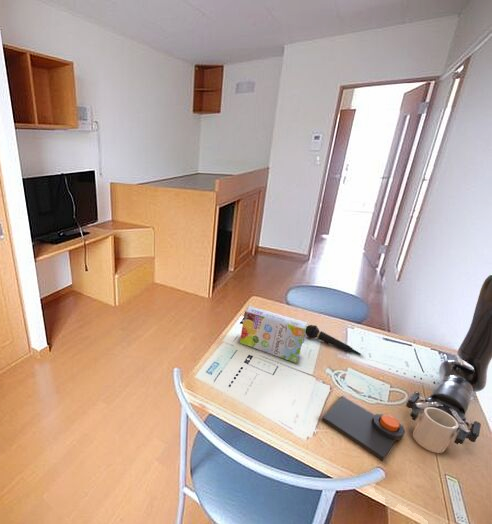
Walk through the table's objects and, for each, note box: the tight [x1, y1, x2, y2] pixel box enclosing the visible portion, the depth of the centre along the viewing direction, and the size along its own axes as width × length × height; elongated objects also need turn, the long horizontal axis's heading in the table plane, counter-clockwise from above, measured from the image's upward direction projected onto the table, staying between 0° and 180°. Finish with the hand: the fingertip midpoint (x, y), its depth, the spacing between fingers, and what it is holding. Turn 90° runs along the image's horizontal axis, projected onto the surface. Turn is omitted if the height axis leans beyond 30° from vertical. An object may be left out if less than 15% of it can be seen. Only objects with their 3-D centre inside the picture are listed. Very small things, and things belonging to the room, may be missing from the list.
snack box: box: [239, 305, 308, 364], centre depth 115 cm, size 21×6×15 cm, turn 56°
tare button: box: [380, 414, 401, 432], centre depth 84 cm, size 4×4×2 cm
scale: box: [321, 395, 406, 462], centre depth 86 cm, size 16×14×3 cm
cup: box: [412, 407, 459, 454], centre depth 81 cm, size 7×7×9 cm
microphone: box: [305, 324, 362, 356], centre depth 120 cm, size 6×6×20 cm
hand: (435, 429), depth 79 cm, fingers open, 8 cm apart
